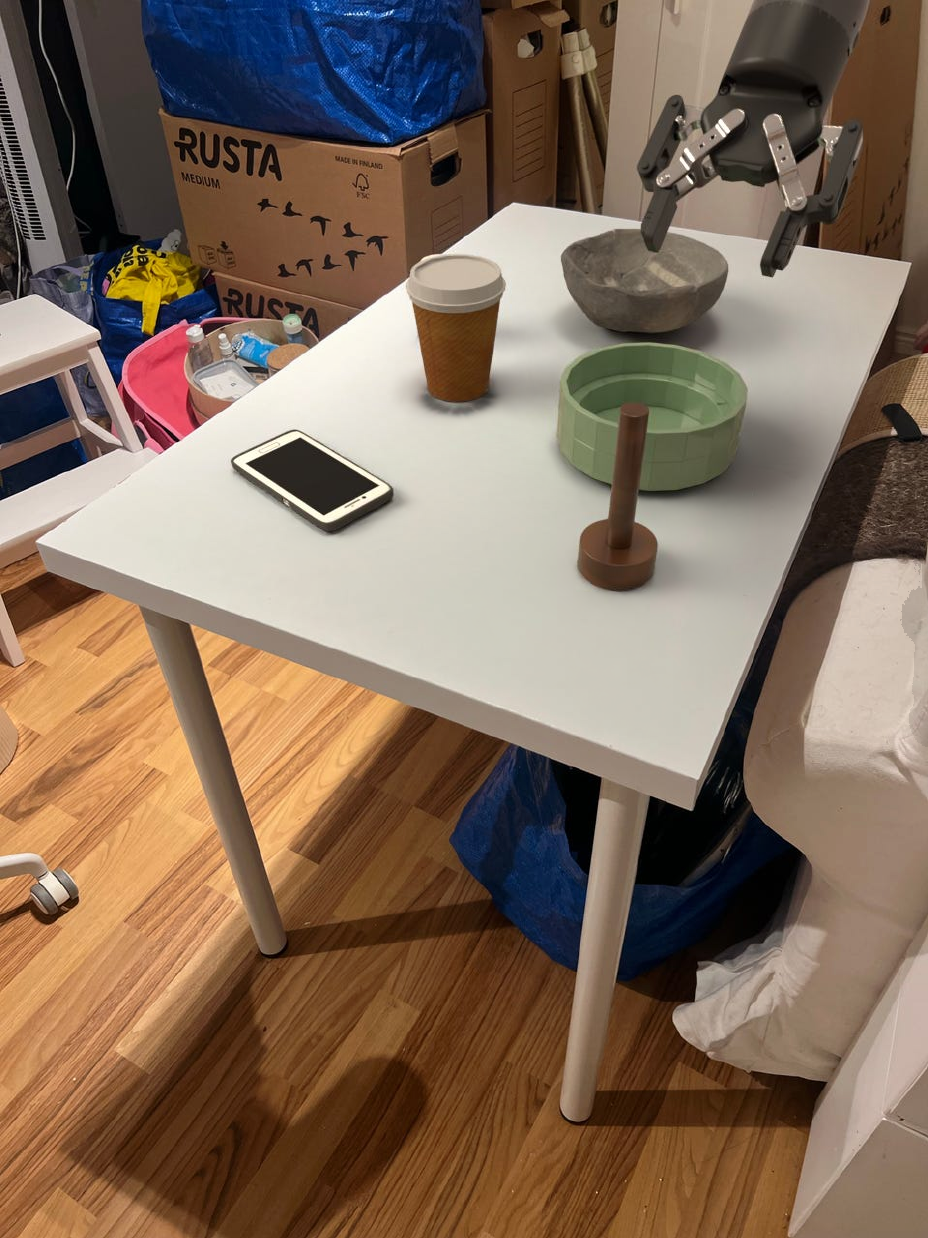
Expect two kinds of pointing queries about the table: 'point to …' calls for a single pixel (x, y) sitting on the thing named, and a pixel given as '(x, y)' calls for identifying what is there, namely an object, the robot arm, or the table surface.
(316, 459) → the cell phone
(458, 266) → the disposable coffee cup
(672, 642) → the table surface
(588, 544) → the wooden rod on disc
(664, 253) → the bowl
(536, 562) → the table surface
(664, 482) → the mixing bowl
